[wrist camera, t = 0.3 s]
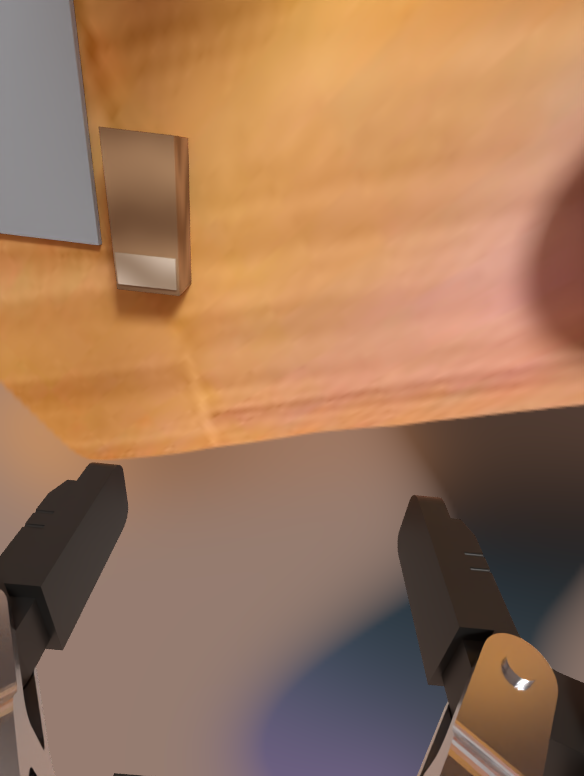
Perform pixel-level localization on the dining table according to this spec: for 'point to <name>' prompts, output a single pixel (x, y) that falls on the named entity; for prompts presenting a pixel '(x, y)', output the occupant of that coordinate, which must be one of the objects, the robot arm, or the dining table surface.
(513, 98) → the dining table surface
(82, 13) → the dining table surface
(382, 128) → the dining table surface
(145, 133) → the brown rectangular block
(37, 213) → the slate mat
